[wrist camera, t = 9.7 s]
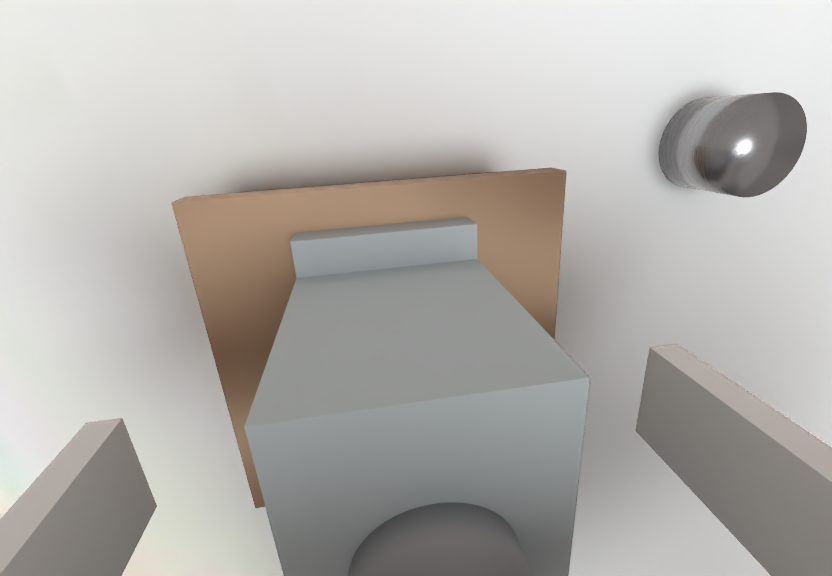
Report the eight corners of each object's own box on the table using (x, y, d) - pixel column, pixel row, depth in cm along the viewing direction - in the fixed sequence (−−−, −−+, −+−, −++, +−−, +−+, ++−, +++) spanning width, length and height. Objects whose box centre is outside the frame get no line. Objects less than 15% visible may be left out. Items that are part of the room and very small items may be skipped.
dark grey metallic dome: (726, 183, 19) (791, 193, 16) (652, 189, 18) (705, 201, 16) (745, 95, 17) (819, 89, 15) (665, 100, 17) (726, 95, 14)
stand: (502, 386, 21) (545, 460, 16) (277, 418, 20) (255, 507, 15) (507, 158, 17) (566, 170, 12) (224, 179, 16) (171, 203, 11)
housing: (471, 454, 16) (574, 733, 8) (336, 475, 15) (324, 793, 8) (467, 216, 12) (632, 344, 5) (295, 232, 12) (207, 401, 5)
